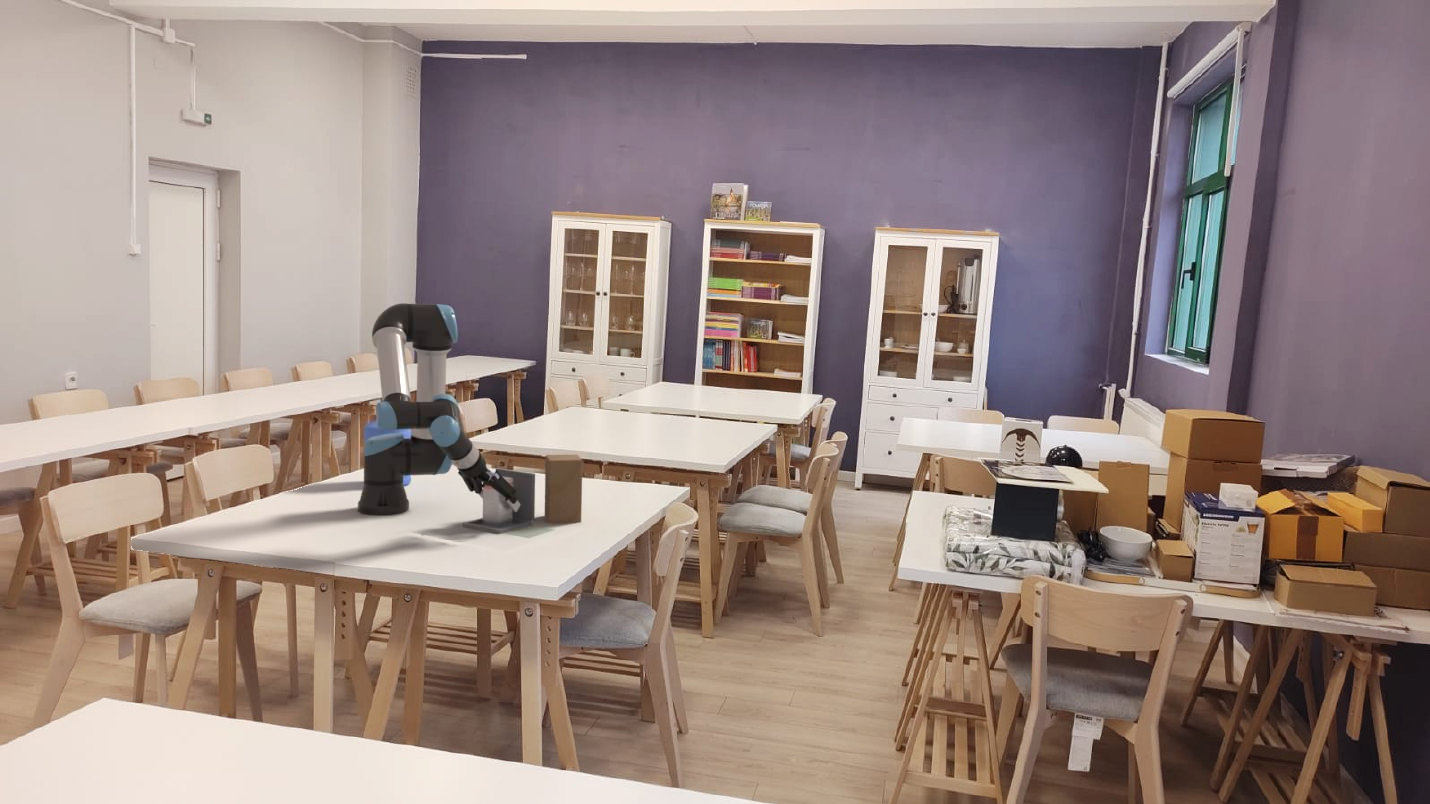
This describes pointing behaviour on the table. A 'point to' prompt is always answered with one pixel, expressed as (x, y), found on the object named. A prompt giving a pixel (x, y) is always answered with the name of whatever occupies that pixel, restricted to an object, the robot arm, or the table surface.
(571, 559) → the table surface
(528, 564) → the table surface
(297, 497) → the table surface
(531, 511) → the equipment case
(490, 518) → the block
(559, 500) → the wooden block
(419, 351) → the robot arm
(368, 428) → the water jug
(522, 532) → the sage board
